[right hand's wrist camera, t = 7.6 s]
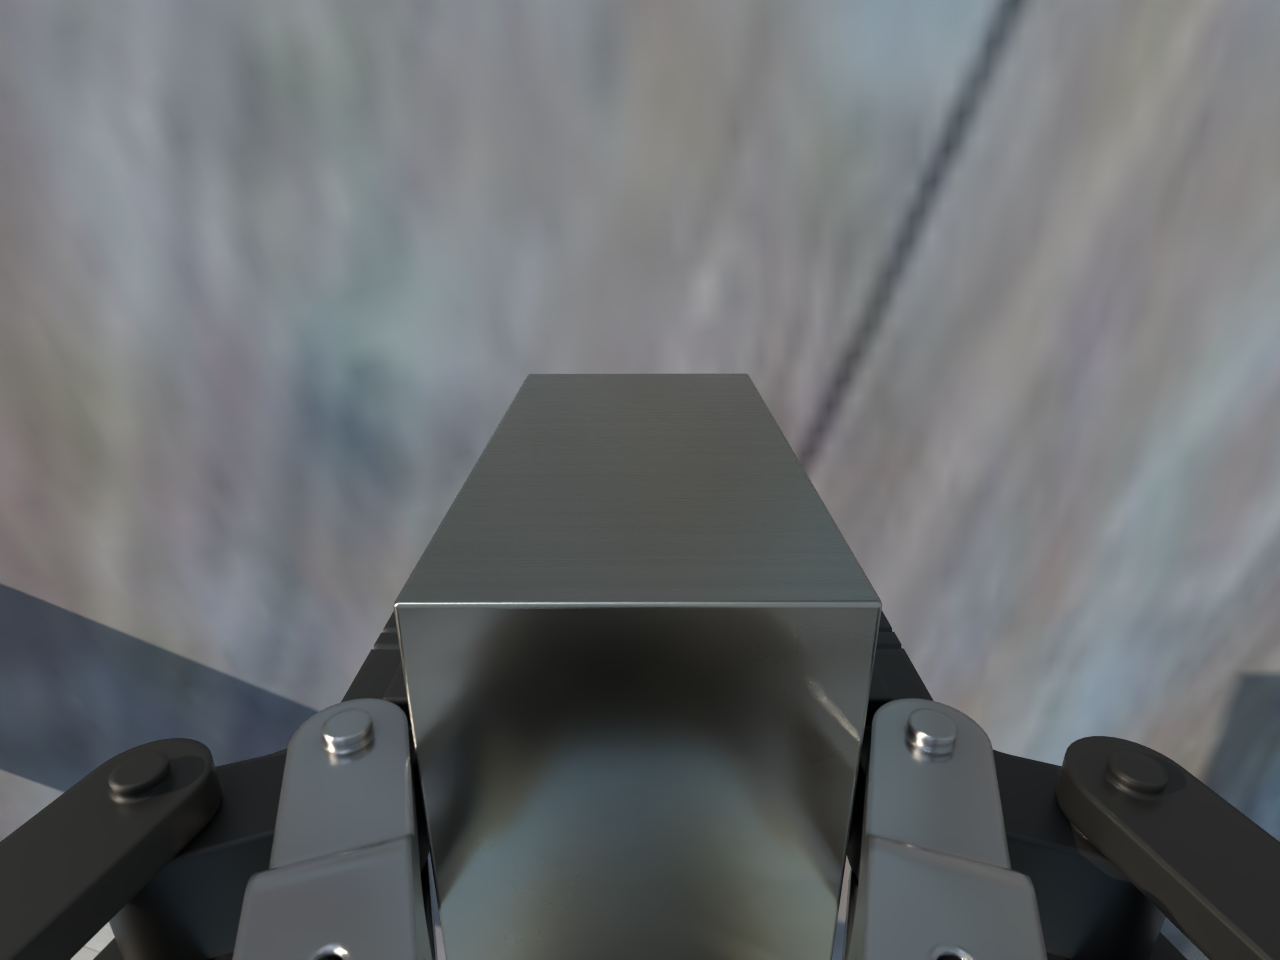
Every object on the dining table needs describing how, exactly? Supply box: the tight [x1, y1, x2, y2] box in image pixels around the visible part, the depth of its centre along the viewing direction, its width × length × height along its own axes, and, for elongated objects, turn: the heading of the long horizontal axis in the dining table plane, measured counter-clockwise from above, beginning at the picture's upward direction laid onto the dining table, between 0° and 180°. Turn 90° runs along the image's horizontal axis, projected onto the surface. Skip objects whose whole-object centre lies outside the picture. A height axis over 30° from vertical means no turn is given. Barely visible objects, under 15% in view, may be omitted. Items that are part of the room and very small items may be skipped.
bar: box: [394, 374, 882, 960], centre depth 15 cm, size 23×5×9 cm, turn 0°
